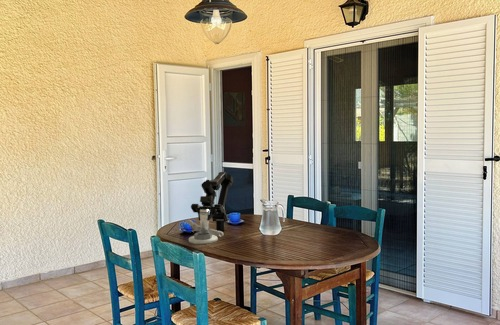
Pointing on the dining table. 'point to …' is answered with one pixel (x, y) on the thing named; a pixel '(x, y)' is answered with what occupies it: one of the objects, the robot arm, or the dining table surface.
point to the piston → (204, 220)
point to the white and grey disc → (203, 238)
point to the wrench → (196, 227)
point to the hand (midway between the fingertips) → (203, 220)
